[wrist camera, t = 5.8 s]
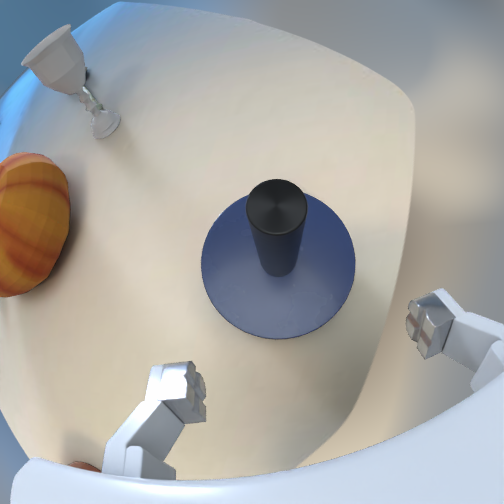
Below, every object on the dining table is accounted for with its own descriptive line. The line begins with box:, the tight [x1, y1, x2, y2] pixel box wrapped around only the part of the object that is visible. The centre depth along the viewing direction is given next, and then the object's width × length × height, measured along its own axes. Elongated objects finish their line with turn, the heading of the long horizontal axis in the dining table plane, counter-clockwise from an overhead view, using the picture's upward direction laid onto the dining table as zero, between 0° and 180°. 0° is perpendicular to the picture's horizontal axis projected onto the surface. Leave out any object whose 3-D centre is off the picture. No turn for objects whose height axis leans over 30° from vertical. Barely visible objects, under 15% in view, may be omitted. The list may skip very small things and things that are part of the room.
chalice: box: [21, 24, 120, 139], centre depth 26 cm, size 7×7×18 cm
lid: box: [201, 179, 355, 339], centre depth 16 cm, size 11×11×10 cm
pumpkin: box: [0, 152, 70, 297], centre depth 23 cm, size 19×19×15 cm
